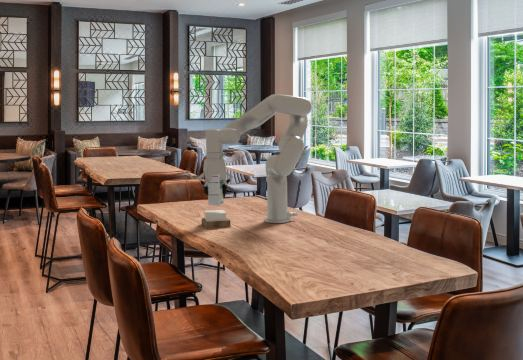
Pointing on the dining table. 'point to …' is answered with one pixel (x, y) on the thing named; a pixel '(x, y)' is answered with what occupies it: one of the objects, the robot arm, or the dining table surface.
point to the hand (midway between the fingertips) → (215, 194)
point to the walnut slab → (215, 223)
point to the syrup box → (215, 191)
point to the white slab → (215, 215)
